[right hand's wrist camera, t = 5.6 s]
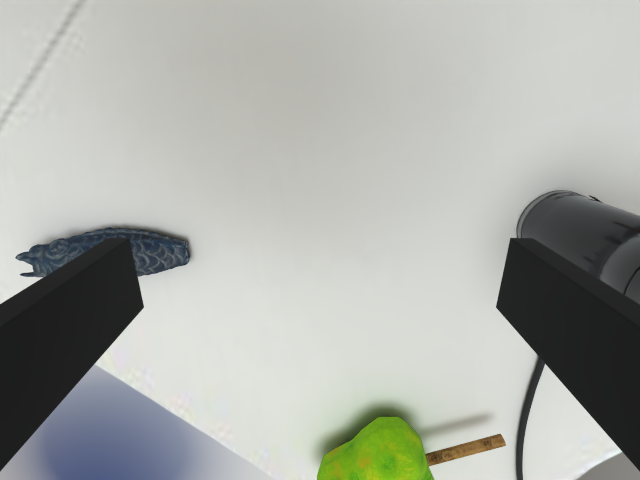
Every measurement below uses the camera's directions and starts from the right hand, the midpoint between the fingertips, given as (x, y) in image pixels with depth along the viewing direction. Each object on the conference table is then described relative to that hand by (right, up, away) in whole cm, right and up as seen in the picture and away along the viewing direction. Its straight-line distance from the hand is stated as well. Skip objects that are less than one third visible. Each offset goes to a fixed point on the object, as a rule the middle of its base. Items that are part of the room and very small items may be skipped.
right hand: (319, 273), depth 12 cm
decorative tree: (+14, -32, +47) cm, 59 cm away
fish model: (-28, 0, +35) cm, 45 cm away
